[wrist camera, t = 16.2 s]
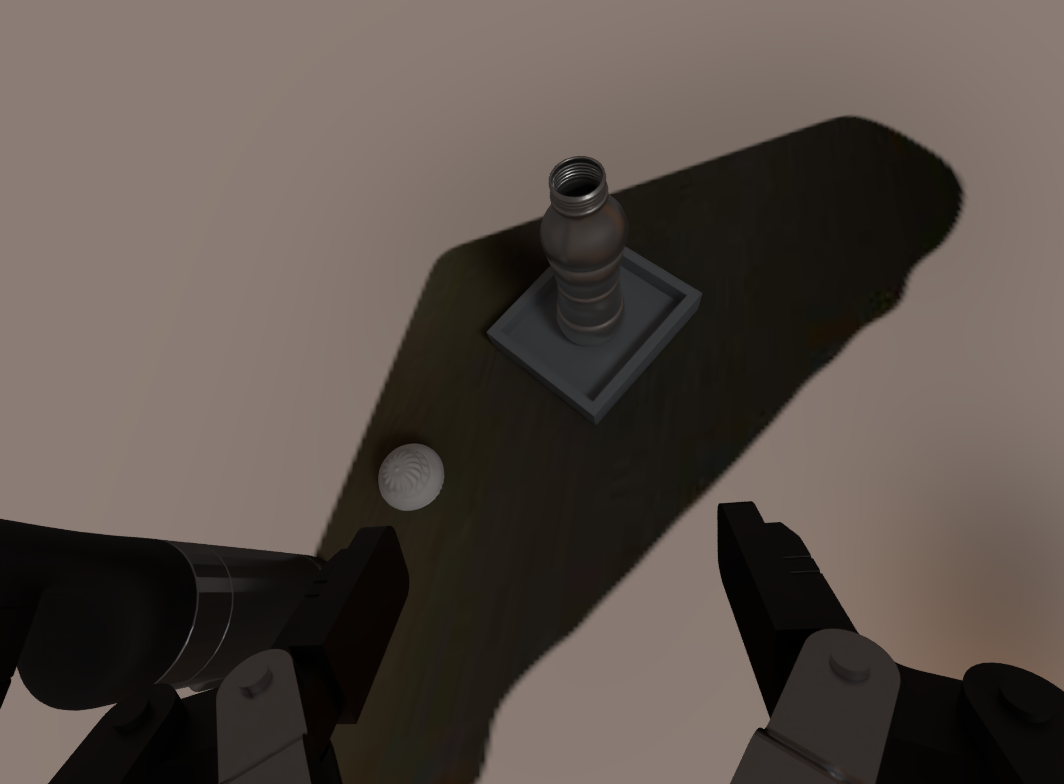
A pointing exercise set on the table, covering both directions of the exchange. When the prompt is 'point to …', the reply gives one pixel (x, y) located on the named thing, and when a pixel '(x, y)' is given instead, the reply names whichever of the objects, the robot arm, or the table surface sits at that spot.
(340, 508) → the table surface
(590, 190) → the plastic bottle
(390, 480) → the muffin
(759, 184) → the table surface
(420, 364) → the table surface
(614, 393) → the tray
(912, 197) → the table surface
